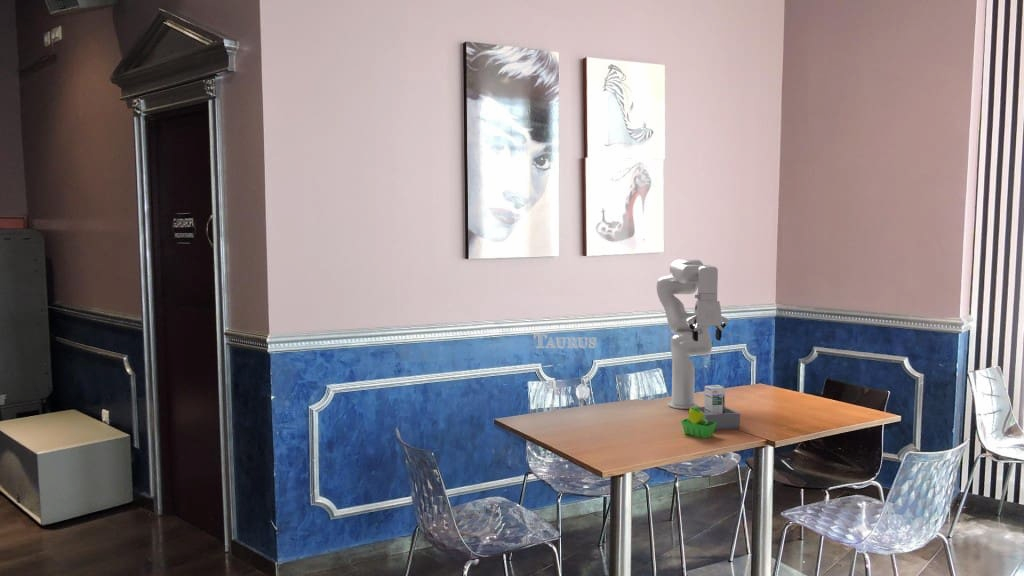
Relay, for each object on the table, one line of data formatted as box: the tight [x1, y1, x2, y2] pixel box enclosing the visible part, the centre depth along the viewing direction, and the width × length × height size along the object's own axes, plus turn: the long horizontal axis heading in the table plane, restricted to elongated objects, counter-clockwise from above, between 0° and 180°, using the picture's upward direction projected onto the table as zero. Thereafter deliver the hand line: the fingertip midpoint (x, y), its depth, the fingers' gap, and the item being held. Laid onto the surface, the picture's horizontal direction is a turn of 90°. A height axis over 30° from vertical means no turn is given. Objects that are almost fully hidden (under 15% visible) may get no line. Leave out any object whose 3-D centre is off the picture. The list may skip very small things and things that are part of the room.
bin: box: [689, 406, 741, 431], centre depth 311 cm, size 14×14×6 cm
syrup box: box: [704, 384, 726, 414], centre depth 311 cm, size 6×6×14 cm
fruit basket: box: [680, 406, 717, 439], centre depth 296 cm, size 11×9×11 cm
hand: (706, 340), depth 317 cm, fingers open, 9 cm apart
